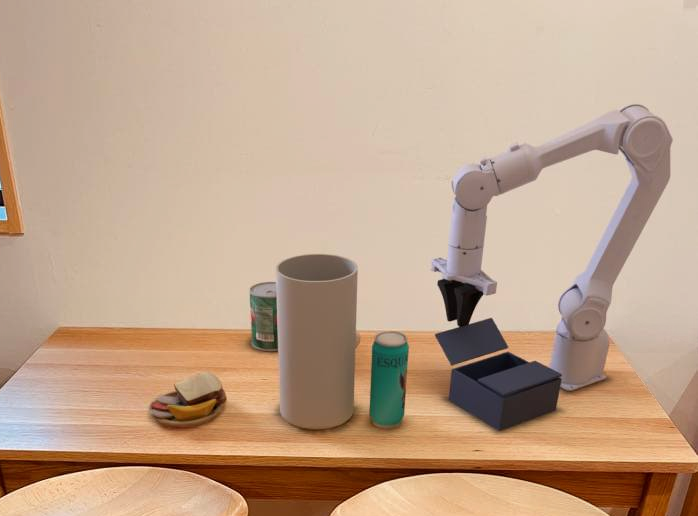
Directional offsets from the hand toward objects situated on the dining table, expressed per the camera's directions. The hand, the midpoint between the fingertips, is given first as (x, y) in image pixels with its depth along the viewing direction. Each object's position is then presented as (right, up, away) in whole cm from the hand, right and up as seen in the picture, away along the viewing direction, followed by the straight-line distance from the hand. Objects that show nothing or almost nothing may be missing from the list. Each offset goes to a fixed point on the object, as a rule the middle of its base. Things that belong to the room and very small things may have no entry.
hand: (457, 322), depth 148 cm
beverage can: (-13, -19, -7) cm, 24 cm away
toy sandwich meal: (-47, -16, -2) cm, 50 cm away
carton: (+7, -15, -3) cm, 17 cm away
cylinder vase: (-25, -17, -4) cm, 30 cm away
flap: (+2, -4, -2) cm, 5 cm away
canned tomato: (-33, +1, +20) cm, 38 cm away
